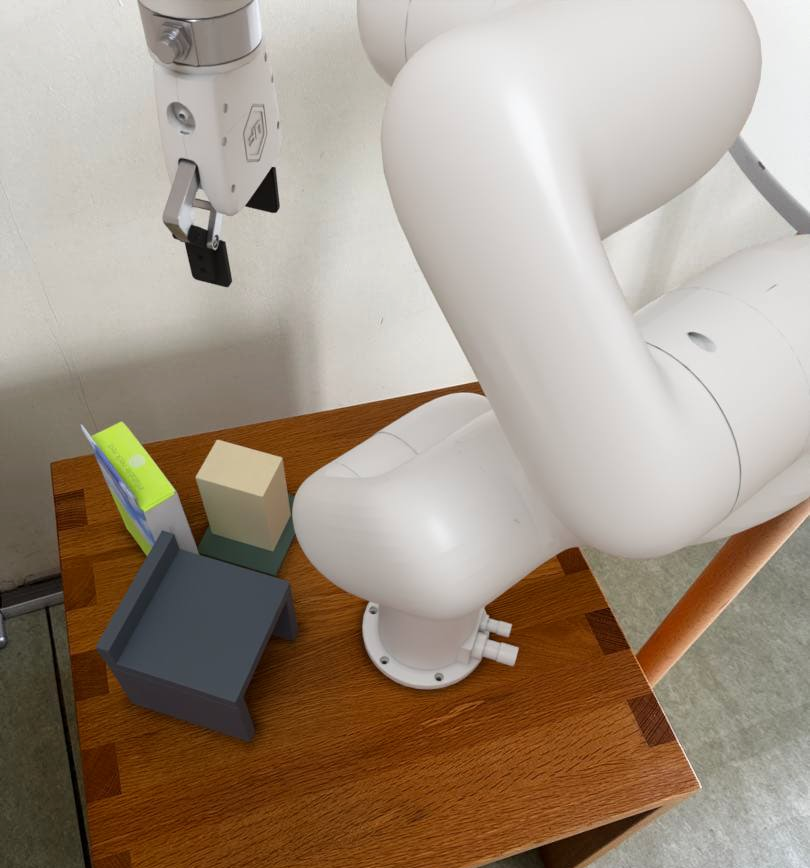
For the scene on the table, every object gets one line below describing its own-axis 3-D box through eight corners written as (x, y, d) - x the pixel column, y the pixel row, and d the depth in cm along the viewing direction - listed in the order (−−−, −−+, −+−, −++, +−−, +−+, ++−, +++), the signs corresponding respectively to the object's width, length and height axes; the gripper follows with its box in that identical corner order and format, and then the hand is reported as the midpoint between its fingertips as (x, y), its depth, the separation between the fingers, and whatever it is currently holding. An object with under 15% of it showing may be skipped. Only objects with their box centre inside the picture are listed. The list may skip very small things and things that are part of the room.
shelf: (298, 631, 83) (288, 567, 72) (250, 742, 77) (231, 690, 66) (188, 597, 85) (162, 530, 74) (132, 703, 78) (95, 647, 68)
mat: (310, 502, 91) (310, 500, 91) (275, 577, 86) (275, 575, 86) (234, 480, 93) (234, 478, 92) (195, 553, 87) (195, 551, 87)
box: (209, 577, 86) (175, 477, 71) (174, 599, 84) (132, 501, 70) (157, 510, 90) (116, 402, 75) (123, 529, 89) (74, 423, 74)
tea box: (231, 497, 91) (216, 438, 82) (291, 514, 90) (282, 457, 81) (211, 533, 88) (194, 477, 80) (273, 552, 87) (262, 496, 79)
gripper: (197, 103, 49) (237, 324, 63) (305, -28, 58) (318, 191, 72) (82, 78, 50) (147, 301, 64) (205, -48, 59) (238, 173, 73)
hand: (238, 243), depth 68 cm, fingers open, 9 cm apart
